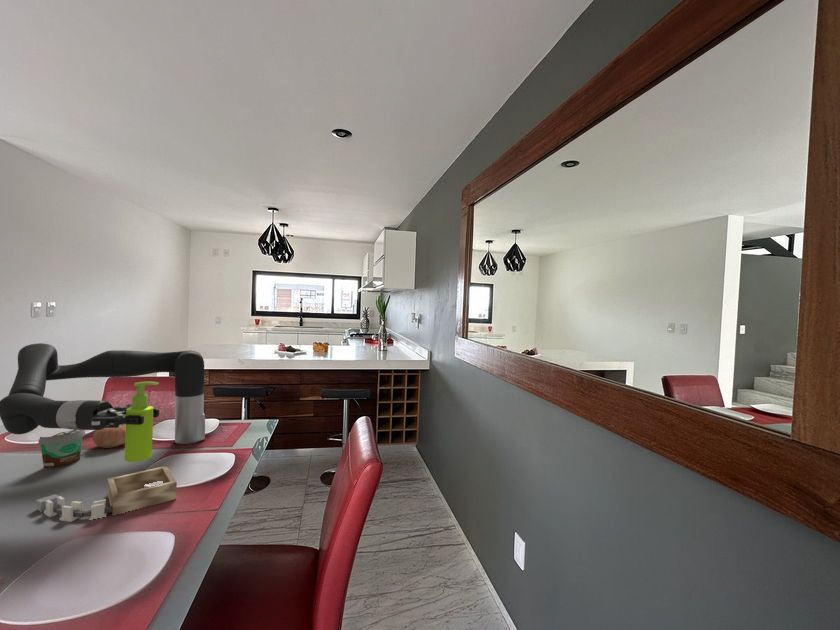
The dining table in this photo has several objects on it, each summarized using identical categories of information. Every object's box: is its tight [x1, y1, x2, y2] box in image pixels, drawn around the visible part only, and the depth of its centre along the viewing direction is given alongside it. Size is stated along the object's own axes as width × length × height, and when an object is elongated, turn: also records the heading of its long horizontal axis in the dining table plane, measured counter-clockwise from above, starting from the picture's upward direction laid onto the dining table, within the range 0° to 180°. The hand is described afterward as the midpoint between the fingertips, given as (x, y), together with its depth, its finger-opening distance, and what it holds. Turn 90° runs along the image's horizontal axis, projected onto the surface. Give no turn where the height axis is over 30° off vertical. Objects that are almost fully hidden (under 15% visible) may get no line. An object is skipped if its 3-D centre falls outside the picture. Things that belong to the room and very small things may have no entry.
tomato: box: [92, 425, 126, 449], centre depth 141 cm, size 11×11×8 cm
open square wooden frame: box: [107, 465, 178, 516], centre depth 106 cm, size 13×13×4 cm
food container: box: [37, 430, 86, 469], centre depth 126 cm, size 12×6×10 cm, turn 168°
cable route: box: [36, 493, 112, 523], centre depth 97 cm, size 6×19×3 cm, turn 79°
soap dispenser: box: [124, 381, 160, 463], centre depth 106 cm, size 6×7×20 cm
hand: (150, 416), depth 105 cm, fingers closed on soap dispenser, 6 cm apart
